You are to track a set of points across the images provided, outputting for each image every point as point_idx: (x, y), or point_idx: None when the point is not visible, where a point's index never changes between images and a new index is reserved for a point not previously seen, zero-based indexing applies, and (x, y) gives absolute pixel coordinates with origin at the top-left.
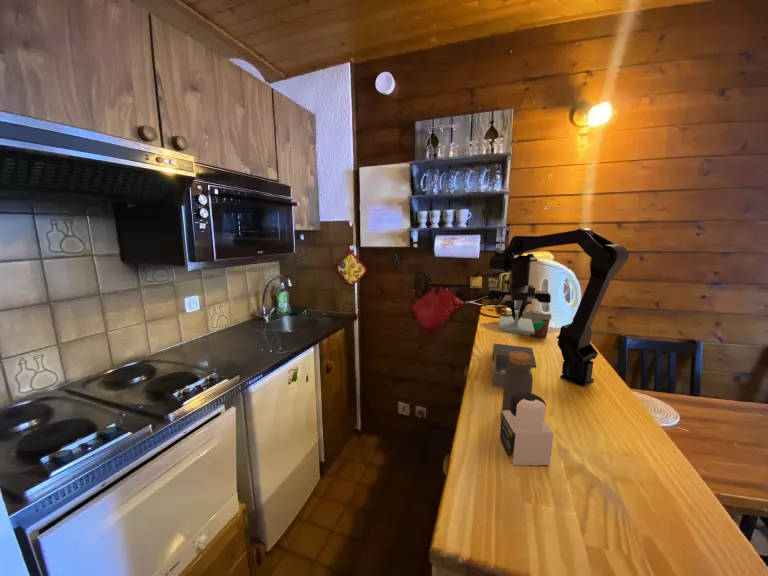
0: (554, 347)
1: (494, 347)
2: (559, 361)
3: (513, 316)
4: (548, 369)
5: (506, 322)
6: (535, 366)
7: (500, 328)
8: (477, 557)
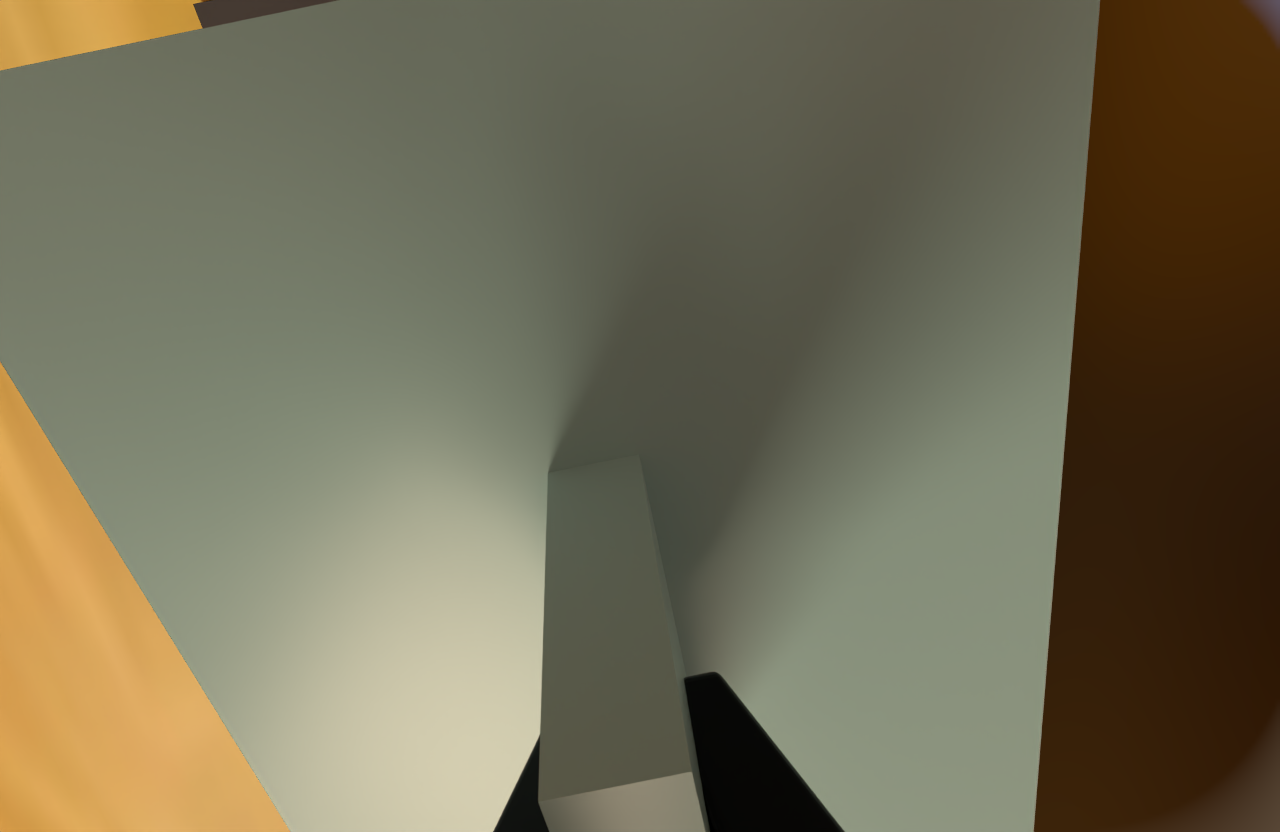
0: (242, 758)
1: None
2: None
3: (749, 746)
4: (29, 29)
5: (877, 588)
6: (207, 3)
7: None
8: None
